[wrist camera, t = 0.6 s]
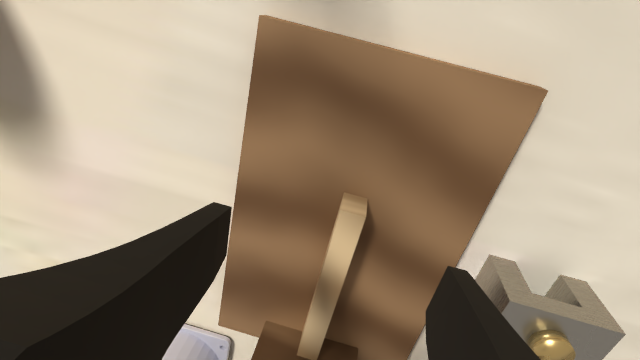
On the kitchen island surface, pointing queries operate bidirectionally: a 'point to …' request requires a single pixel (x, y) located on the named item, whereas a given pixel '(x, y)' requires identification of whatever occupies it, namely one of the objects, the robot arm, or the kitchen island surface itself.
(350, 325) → the board
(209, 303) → the kitchen island surface
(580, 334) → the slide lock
